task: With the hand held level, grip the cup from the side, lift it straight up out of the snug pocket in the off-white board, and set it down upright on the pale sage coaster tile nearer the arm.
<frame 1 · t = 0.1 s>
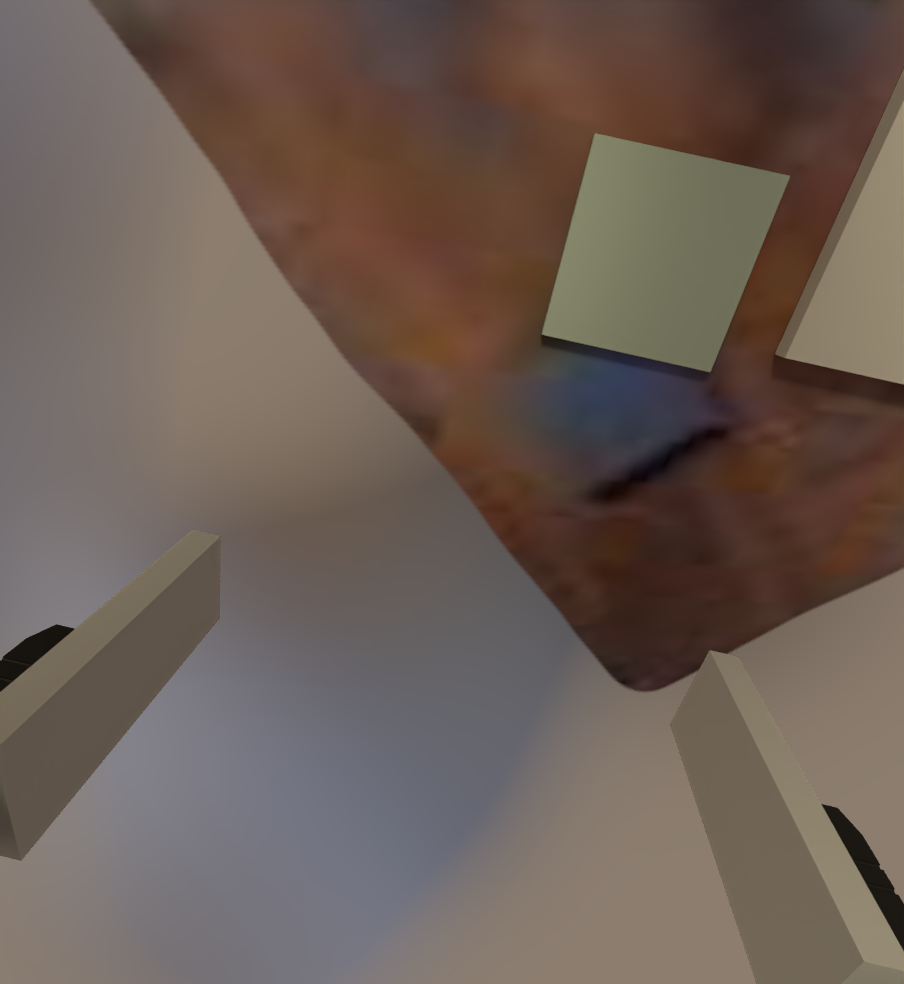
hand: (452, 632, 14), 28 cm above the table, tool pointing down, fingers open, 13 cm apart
coaster: (653, 261, 35), on the table
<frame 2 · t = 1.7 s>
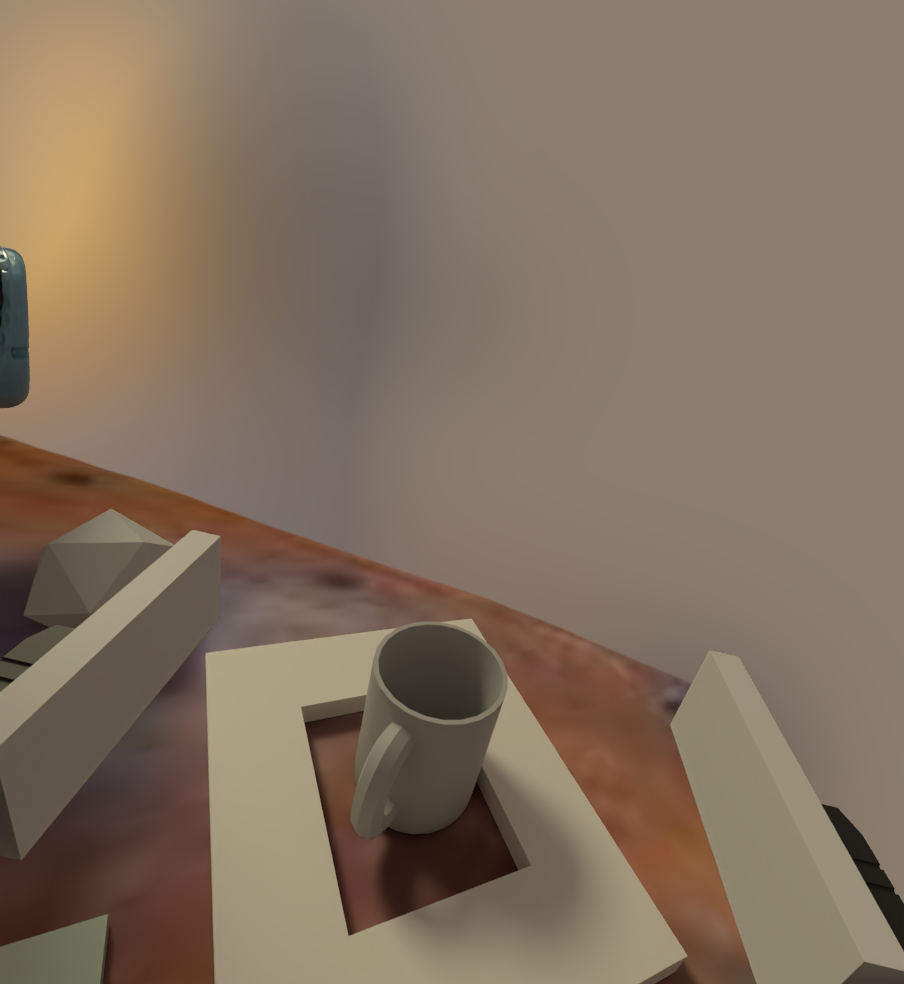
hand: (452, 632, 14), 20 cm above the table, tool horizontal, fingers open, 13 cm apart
die: (111, 623, 38), on the table
cup holder: (400, 795, 30), on the table
cup: (400, 798, 30), resting in cup holder
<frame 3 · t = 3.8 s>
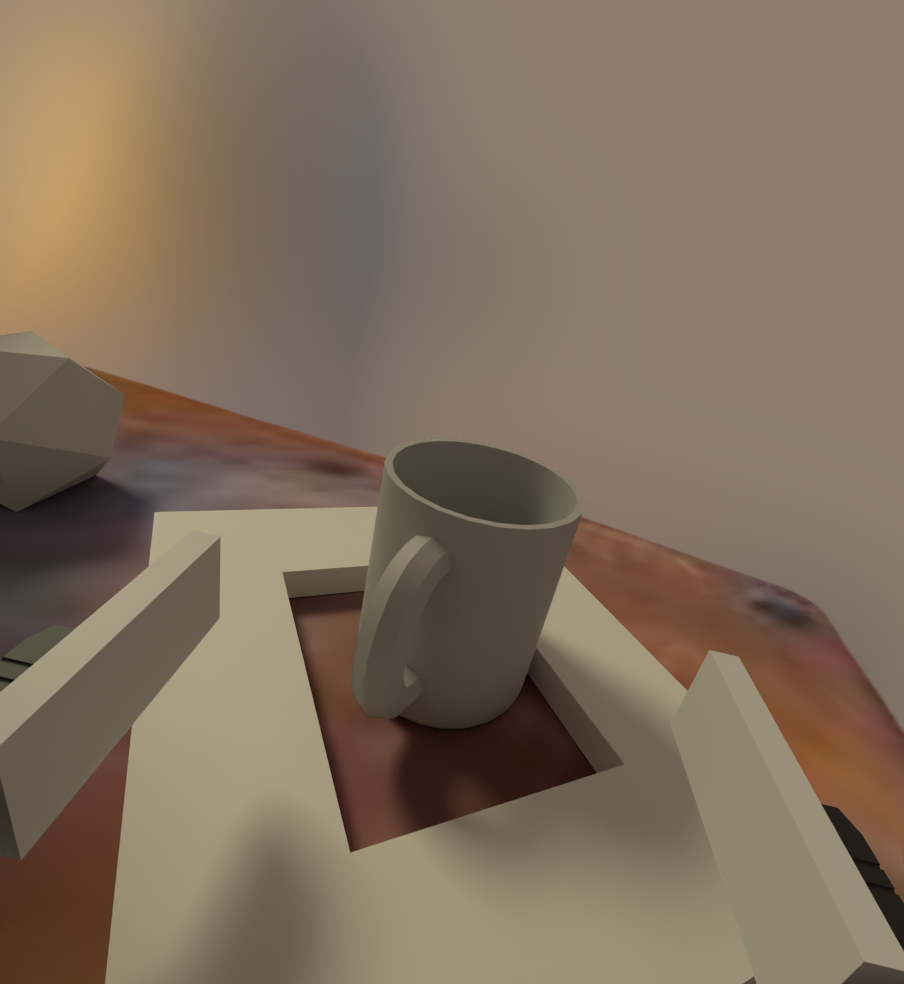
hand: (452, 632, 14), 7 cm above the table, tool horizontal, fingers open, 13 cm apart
die: (35, 488, 29), on the table
cup holder: (423, 682, 21), on the table
cup: (422, 687, 21), resting in cup holder
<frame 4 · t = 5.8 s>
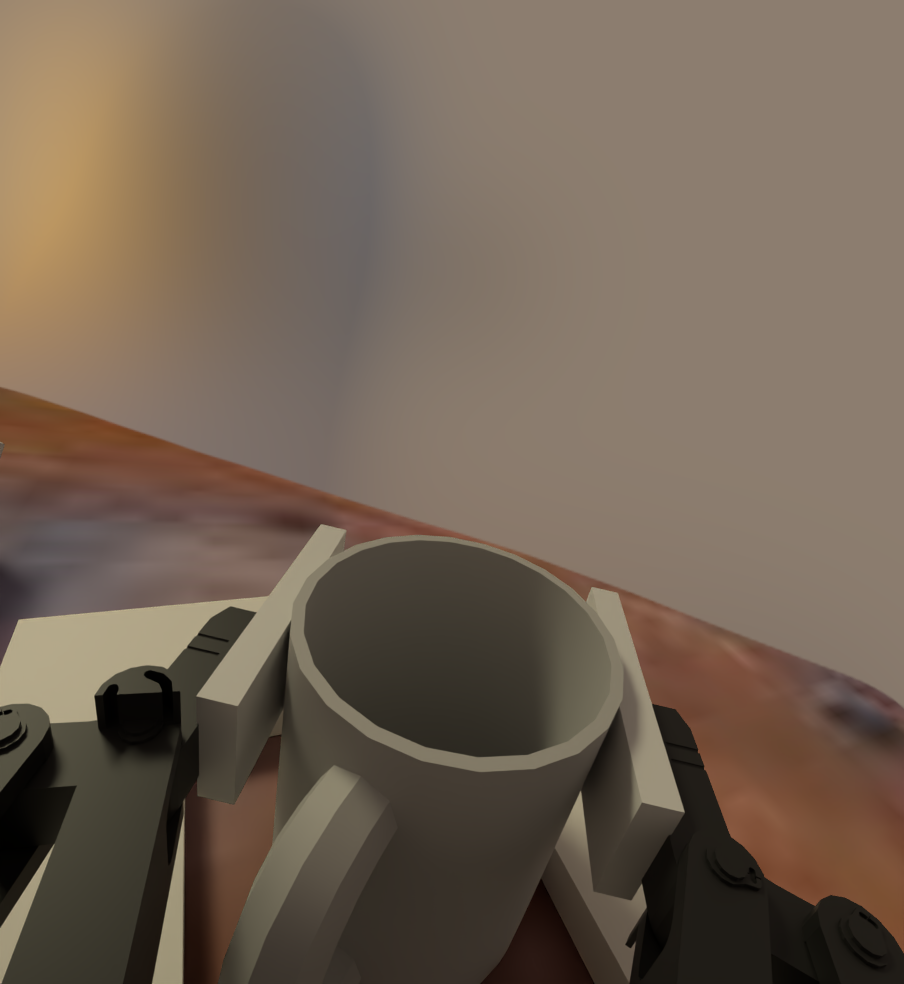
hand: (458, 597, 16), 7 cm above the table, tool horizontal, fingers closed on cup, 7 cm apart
cup holder: (383, 913, 14), on the table
cup: (371, 912, 14), resting in cup holder, touching gripper
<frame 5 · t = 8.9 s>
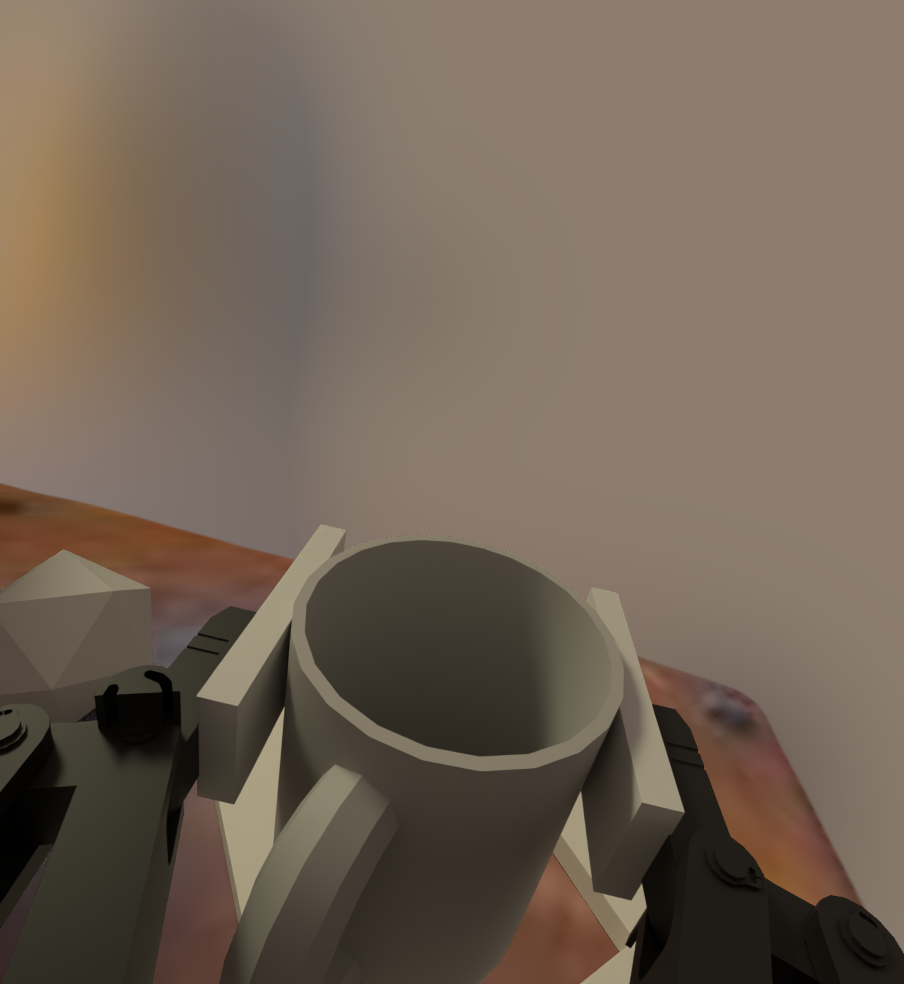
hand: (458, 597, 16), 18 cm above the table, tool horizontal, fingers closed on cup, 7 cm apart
die: (73, 690, 30), on the table
cup holder: (464, 868, 26), on the table
cup: (372, 911, 14), point 11 cm above the table, touching gripper
when the fingers open (9 cm above the table, at t = 11.9 s): cup drops 1 cm, resting on coaster.
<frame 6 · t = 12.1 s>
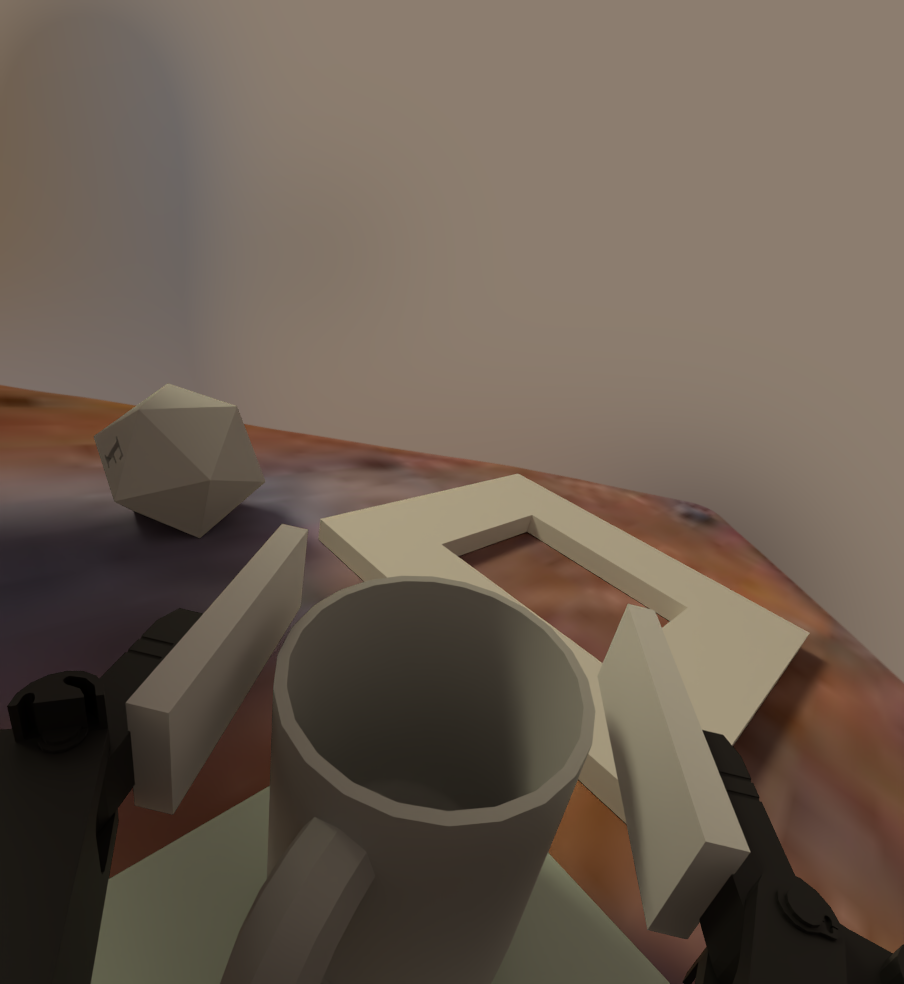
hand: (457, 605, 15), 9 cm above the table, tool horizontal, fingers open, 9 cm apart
coaster: (376, 959, 15), on the table
die: (184, 518, 33), on the table
cup holder: (556, 594, 33), on the table
cup: (365, 941, 15), point 1 cm above the table, touching coaster
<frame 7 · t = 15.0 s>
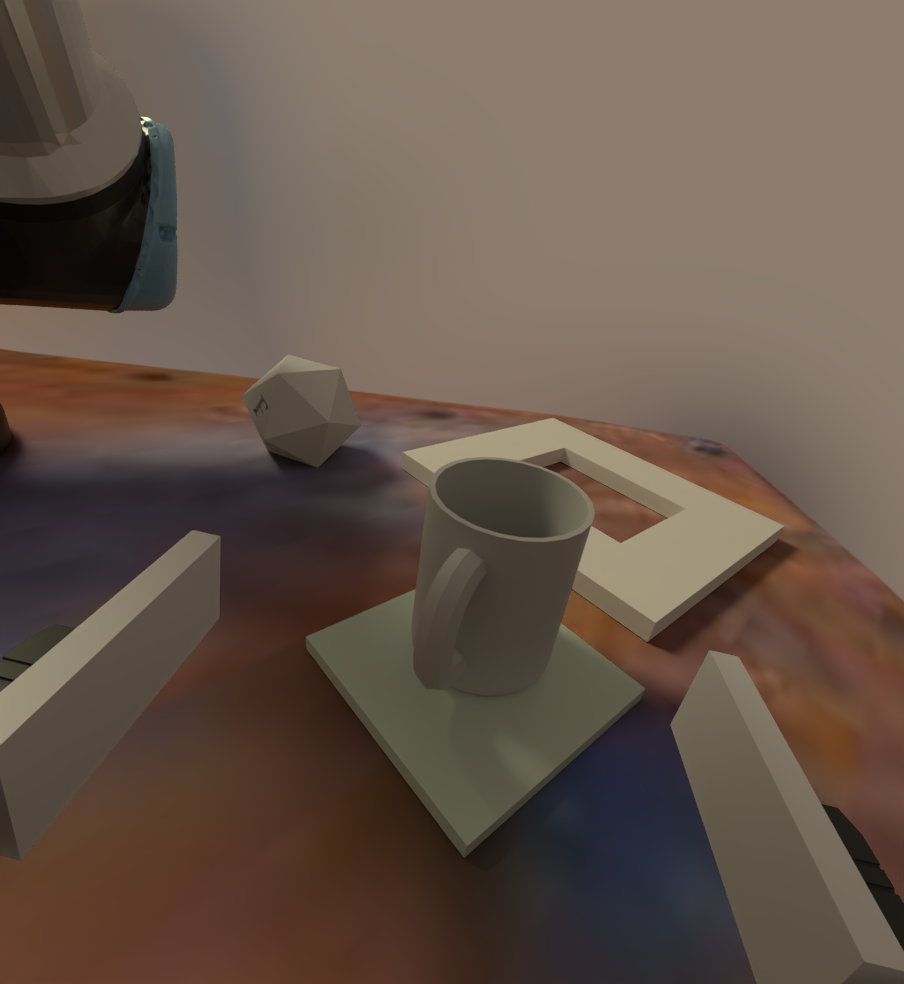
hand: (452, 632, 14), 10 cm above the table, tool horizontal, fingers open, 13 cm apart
coaster: (473, 673, 26), on the table
die: (303, 455, 45), on the table
cup holder: (583, 503, 44), on the table
cup: (466, 662, 26), point 1 cm above the table, touching coaster
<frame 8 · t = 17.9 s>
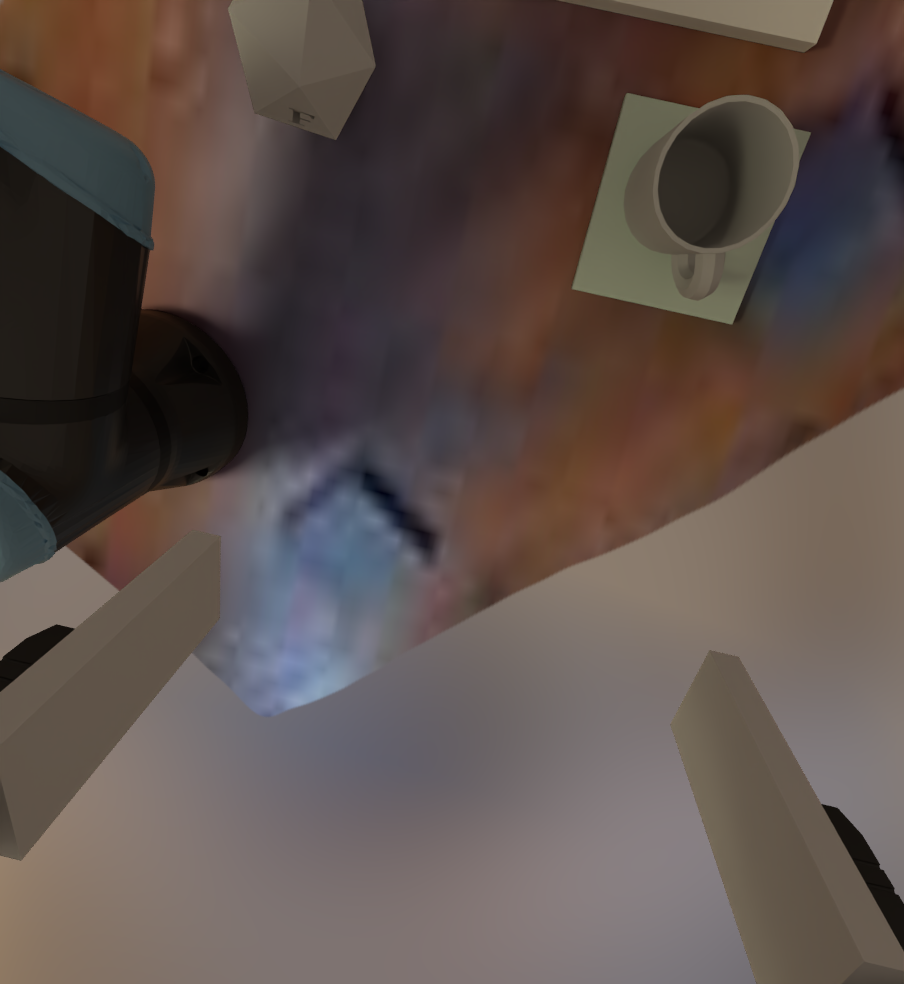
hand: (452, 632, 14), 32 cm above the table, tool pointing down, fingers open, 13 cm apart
coaster: (679, 217, 37), on the table
die: (326, 70, 36), on the table
cup: (675, 219, 36), point 1 cm above the table, touching coaster
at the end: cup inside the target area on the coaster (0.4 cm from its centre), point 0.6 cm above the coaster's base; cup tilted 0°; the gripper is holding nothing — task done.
